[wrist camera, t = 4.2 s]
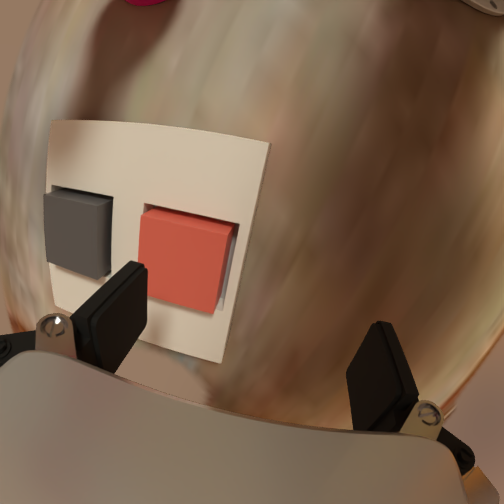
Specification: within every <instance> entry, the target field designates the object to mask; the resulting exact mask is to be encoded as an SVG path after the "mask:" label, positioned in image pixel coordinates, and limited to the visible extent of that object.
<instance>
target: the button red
mask: <svg viewBox="0 0 504 504" xmlns="http://www.w3.org/2000/svg"><path fill="white" fill-rule="evenodd" d="M234 228H235V223H234V222H230V221H225V220H221V219H217V218H212V217H208V216H203V215H199V214H194V213H190V212H185V211H180V210H176V209H171V208H166V207H162V206H157V207H155V208H153V209H151V210H149V211H148V212H146V213H144V214H142V215H141V218H140V231H139V247H138V262H139V263H143V264H144V266H145V268H147V269H148V291H147V296H151V297H154V298H157V299H161V300H164V301H167V302H171V303H174V304H178V305H181V306H185V307H189V308H192V309H196V310H200V311H203V312H207V313H211V314H214V311H215V309H216V306H217V304H218V302H219V299H220V297H221V294H222V290H223V284H224V279H225V274H226V268H227V263H228V258H229V253H230V248H231V243H232V238H233V233H234Z"/></svg>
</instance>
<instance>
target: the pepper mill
mask: <svg viewBox="0 0 504 504" xmlns="http://www.w3.org/2000/svg"><path fill="white" fill-rule="evenodd" d="M125 1H127V2H128V3H130V4H133V5H136V6H148V5H153V4H158V3H160V2H163V1H165V0H125Z"/></svg>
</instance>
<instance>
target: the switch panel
mask: <svg viewBox="0 0 504 504" xmlns="http://www.w3.org/2000/svg"><path fill="white" fill-rule="evenodd" d="M270 149H271V143H267V142H262V141H257V140H253V139H248V138H243V137H237V136H232V135H226V134H220V133H215V132H208V131H202V130H195V129H188V128H180V127H172V126H164V125H154V124H144V123H132V122H118V121H97V120H52V121H51V128H50V136H49V146H48V158H47V175H46V193H50V192H53V191H56V190H59V189H62V188H72V189H77V190H82V191H88V192H93V193H98V194H103V195H108V196H113V197H114V199H113V215H112V244H111V270H109V271H108V272H107V273H106V274H105V275H103V276H102V277H101V278H100V279H99V280H96V279H93V278H90V277H87V276H84V275H82V274H79V273H76V272H73V271H71V270H68V269H65V268H63V267H60V266H57V265H55V264H52V263H50V262H49V265H50V274H51V282H52V289H53V295H54V301H55V305H56V306H58V307H60V308H62V309H64V310H67V311H69V312H71V313H74V312H75V311H76V310H77V309H78V308H79V307H80V306H81V305H82V304H83V303H84V302H85V301H86V300H88V299H89V298H90V297H91V296H92V295H93V294H94V293H95V292H96V291H97V290H98V289H99V288H100V287H101V286H102V285H103V284H105V283H106V282H107V281H108V280H109V279H110V278H111V277H112V276H113V275H114V274H116V273H117V272H118V271H119V270H120V269H121V268H122V267H123V266H124V265H126V264H127V263H128V262H129V261H131V260H132V261H136V262H138V247H139V231H140V218H141V215H142V214H144V213H146V212H148V211H149V210H151V209H153V208H155V207H157V206H162V207H166V208H171V209H176V210H180V211H185V212H190V213H194V214H199V215H203V216H208V217H212V218H217V219H221V220H225V221H230V222H234V223H235V228H234V233H233V238H232V243H231V248H230V253H229V258H228V263H227V268H226V274H225V279H224V284H223V290H222V294H221V297H220V299H219V302H218V304H217V306H216V309H215V311H214V314H211V313H207V312H203V311H200V310H196V309H192V308H189V307H185V306H181V305H178V304H174V303H171V302H167V301H164V300H161V299H157V298H154V297H151V296H147V325H146V327H145V329H144V330H143V332H142V333H141V335H140V336H139V338H138V339H140V340H143V341H146V342H149V343H152V344H155V345H158V346H161V347H164V348H167V349H170V350H174V351H177V352H180V353H184V354H187V355H190V356H194V357H198V358H201V359H205V360H209V361H212V362H216V363H220V364H221V362H222V359H223V356H224V352H225V349H226V345H227V342H228V338H229V334H230V329H231V324H232V320H233V315H234V311H235V306H236V301H237V297H238V292H239V288H240V283H241V279H242V274H243V270H244V265H245V261H246V256H247V251H248V247H249V242H250V238H251V233H252V229H253V224H254V220H255V215H256V211H257V207H258V202H259V198H260V193H261V189H262V184H263V180H264V175H265V171H266V166H267V162H268V157H269V153H270Z"/></svg>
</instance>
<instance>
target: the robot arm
mask: <svg viewBox="0 0 504 504" xmlns="http://www.w3.org/2000/svg"><path fill="white" fill-rule="evenodd" d="M462 1H463V2H465V3H467V4H468V5H470V6H472V7H473V8H475V9H477V10H480V11H482V12H484V13H487V14H490V15H494V16H502V15H504V0H462ZM147 291H148V269H147V268H145V266H144V264H143V263H139V262H136V261H132V260H131V261H129V262H128V263H127V264H126V265H124V266H123V267H122V268H121V269H120V270H119V271H118V272H117V273H116V274H114V275H113V276H112V277H111V278H110V279H109V280H108V281H107V282H106V283H105V284H103V285H102V286H101V287H100V288H99V289H98V290H97V291H96V292H95V293H94V294H93V295H92V296H91V297H90V298H89V299H88V300H86V301H85V302H84V303H83V304H82V305H81V306H80V307H79V308H78V309H77V310H76V311H75V312H74V313H73V314H72V315H71V316H70V317H67V316H66V315H64V314H60V313H53V314H48V315H46V316H44V317H42V318H41V319H40V320H39V321H38V323H37V326H36V330H34V331H27V332H20V333H13V334H6V335H0V504H499V493H498V491H497V490H496V488H495V487H494V486H493V485H492V483H491V482H490V481H489V479H488V478H487V477H486V476H485V474H484V473H483V472H482V470H481V469H480V468H479V467H478V466H477V467H474V464H475V456H474V453H473V451H472V450H471V448H470V447H469V446H467V445H466V444H465V443H463V442H462V441H461V440H459V439H458V438H457V437H455V436H454V435H453V434H451V433H450V432H449V431H447V430H446V429H444V428H443V427H442V425H443V422H444V416H443V413H442V411H441V409H440V408H439V407H438V406H437V405H436V404H435V403H433V402H431V401H428V400H421V401H419V400H418V395H419V392H418V390H417V387H416V384H415V381H414V378H413V376H412V373H411V370H410V368H409V365H408V363H407V360H406V357H405V355H404V352H403V350H402V347H401V345H400V342H399V340H398V338H397V335H396V333H395V331H394V328H393V326H392V324H391V323H389V322H384V321H377V322H376V323H373V324H372V325H371V327H370V329H369V331H368V333H367V334H366V336H365V338H364V340H363V342H362V344H361V346H360V347H359V349H358V351H357V353H356V355H355V356H354V358H353V360H352V362H351V363H350V365H349V367H348V369H347V372H346V379H347V385H348V392H349V399H350V407H351V414H352V423H353V430H345V429H333V428H323V427H314V426H306V425H299V424H292V423H286V422H280V421H274V420H268V419H263V418H258V417H253V416H248V415H244V414H239V413H235V412H230V411H226V410H222V409H218V408H214V407H211V406H207V405H203V404H200V403H196V402H193V401H189V400H186V399H183V398H179V397H176V396H173V395H170V394H167V393H164V392H161V391H158V390H155V389H152V388H149V387H147V386H144V385H141V384H139V383H136V382H133V381H131V380H128V379H125V378H123V377H120V376H118V375H115V374H114V373H115V372H116V370H117V369H118V367H119V366H120V364H121V363H122V361H123V360H124V358H125V357H126V355H127V354H128V352H129V351H130V349H131V348H132V346H133V345H134V343H135V342H136V340H137V339H138V338H139V336H140V335H141V333H142V332H143V330H144V329H145V327H146V325H147Z"/></svg>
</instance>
